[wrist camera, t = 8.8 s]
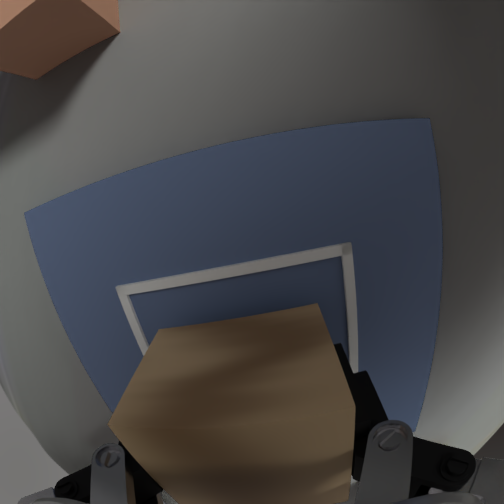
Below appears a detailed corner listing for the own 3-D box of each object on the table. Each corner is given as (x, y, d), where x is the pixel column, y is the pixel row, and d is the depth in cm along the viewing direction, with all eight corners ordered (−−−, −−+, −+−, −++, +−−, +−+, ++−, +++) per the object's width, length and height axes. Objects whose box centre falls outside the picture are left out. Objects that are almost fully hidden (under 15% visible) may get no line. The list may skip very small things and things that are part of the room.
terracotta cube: (117, -33, 7) (73, -81, 2) (120, 32, 9) (59, -16, 4) (40, 12, 8) (-15, -15, 3) (37, 79, 9) (-34, 63, 4)
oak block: (317, 303, 10) (355, 406, 5) (328, 412, 12) (348, 500, 7) (159, 329, 10) (107, 424, 6) (204, 427, 12) (188, 512, 7)
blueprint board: (422, 119, 9) (431, 117, 9) (412, 425, 14) (416, 433, 14) (31, 210, 11) (21, 213, 10) (154, 459, 16) (152, 467, 15)
